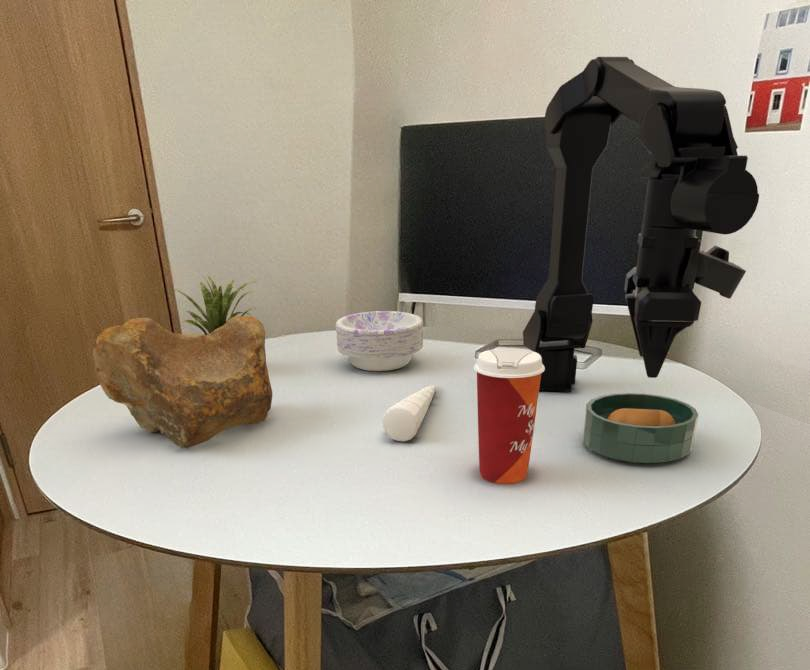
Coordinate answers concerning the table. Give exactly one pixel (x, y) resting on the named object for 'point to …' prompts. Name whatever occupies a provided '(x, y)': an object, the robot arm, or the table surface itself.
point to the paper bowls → (379, 339)
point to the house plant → (215, 306)
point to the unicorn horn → (407, 415)
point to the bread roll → (642, 417)
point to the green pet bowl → (639, 429)
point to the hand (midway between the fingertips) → (648, 366)
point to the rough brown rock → (186, 377)
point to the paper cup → (506, 412)
